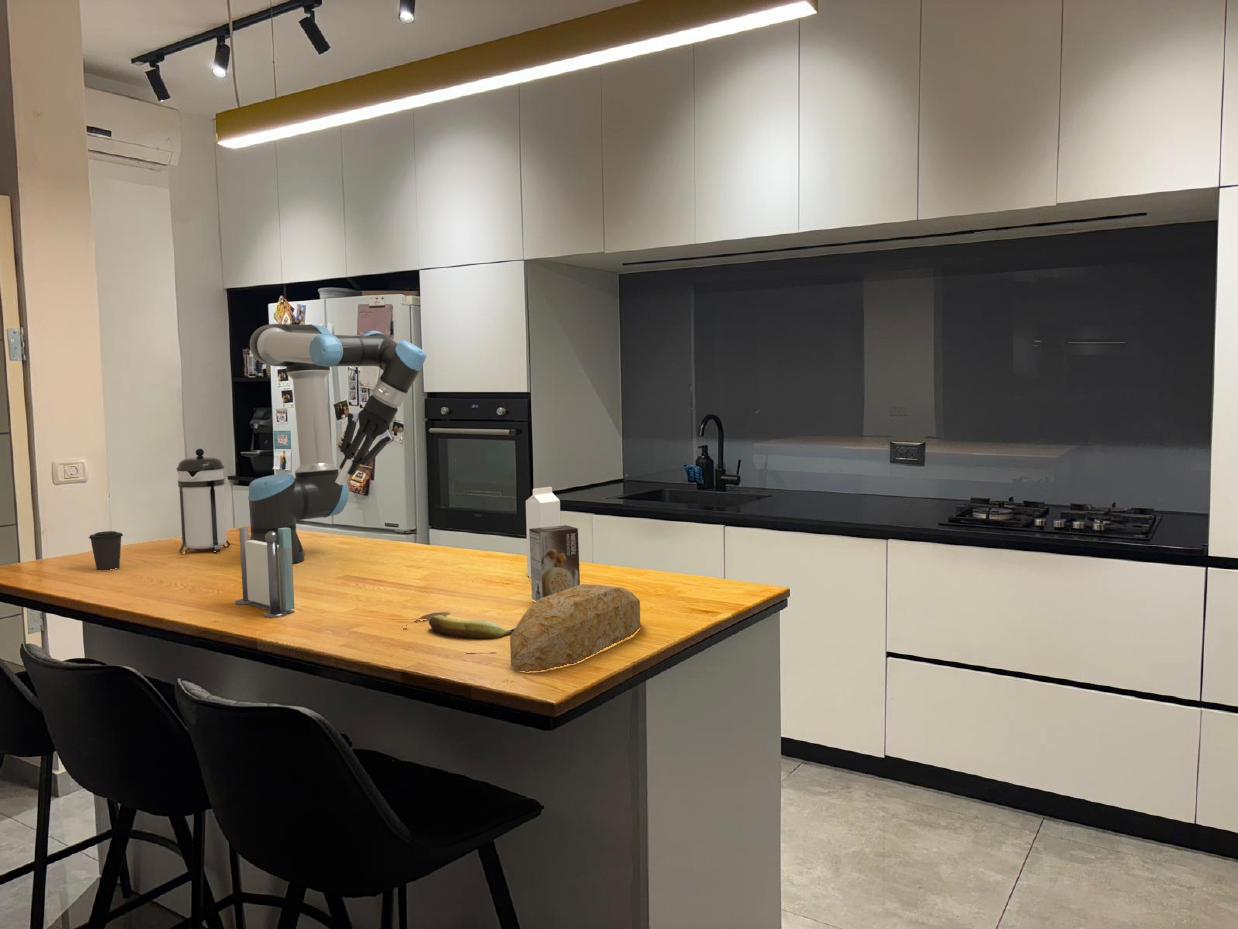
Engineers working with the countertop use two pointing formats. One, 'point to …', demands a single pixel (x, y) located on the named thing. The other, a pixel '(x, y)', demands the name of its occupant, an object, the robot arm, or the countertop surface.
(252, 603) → the sill
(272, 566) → the post
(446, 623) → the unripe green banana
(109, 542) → the coffee cup
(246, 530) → the gate
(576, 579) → the coffee box
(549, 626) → the bread
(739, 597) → the countertop surface
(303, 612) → the countertop surface
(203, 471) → the coffee press
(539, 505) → the milk
